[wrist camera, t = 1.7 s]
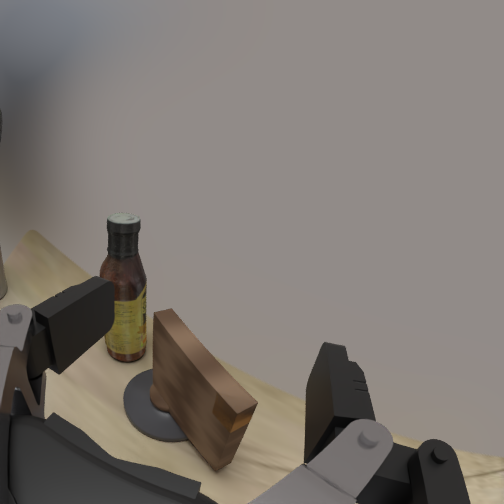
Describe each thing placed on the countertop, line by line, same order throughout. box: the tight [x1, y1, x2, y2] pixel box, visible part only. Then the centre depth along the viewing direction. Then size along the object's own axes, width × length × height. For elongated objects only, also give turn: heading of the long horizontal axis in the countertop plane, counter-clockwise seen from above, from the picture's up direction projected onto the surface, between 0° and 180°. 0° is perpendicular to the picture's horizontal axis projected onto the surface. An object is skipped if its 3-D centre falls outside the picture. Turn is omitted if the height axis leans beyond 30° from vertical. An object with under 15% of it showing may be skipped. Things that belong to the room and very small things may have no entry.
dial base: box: [123, 369, 189, 442], centre depth 30 cm, size 11×11×1 cm
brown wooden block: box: [150, 309, 258, 471], centre depth 25 cm, size 13×4×12 cm, turn 41°
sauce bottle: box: [100, 213, 147, 362], centre depth 34 cm, size 6×6×20 cm
